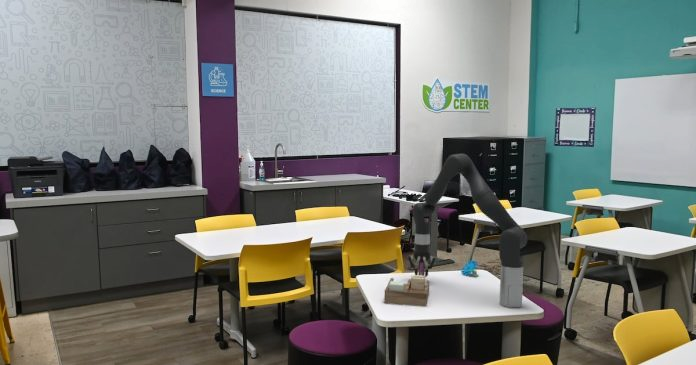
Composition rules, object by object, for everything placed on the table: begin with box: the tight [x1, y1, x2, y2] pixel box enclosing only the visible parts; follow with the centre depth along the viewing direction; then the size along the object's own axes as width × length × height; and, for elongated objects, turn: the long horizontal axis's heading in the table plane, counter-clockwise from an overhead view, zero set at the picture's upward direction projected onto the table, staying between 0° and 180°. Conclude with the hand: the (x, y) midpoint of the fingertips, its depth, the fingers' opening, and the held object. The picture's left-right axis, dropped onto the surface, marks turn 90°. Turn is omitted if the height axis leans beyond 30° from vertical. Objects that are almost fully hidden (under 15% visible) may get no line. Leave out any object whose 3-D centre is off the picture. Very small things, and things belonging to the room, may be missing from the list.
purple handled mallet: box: [410, 262, 426, 290], centre depth 257 cm, size 27×6×9 cm, turn 168°
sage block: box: [389, 280, 406, 291], centre depth 237 cm, size 6×6×5 cm
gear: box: [460, 259, 479, 277], centre depth 284 cm, size 11×6×10 cm
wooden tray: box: [383, 277, 430, 307], centre depth 243 cm, size 22×18×6 cm
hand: (421, 276), depth 269 cm, fingers open, 4 cm apart
